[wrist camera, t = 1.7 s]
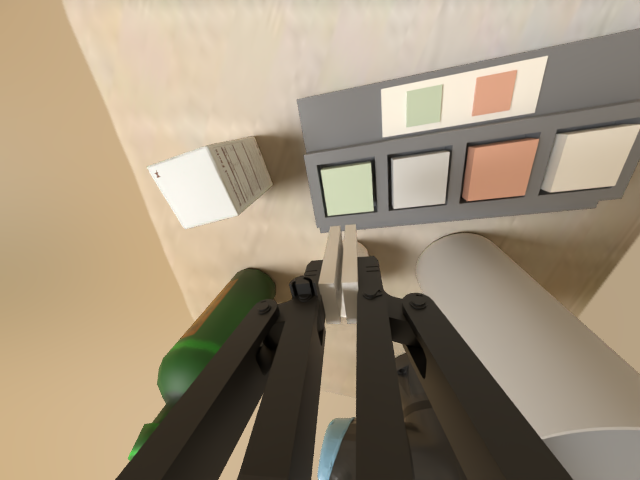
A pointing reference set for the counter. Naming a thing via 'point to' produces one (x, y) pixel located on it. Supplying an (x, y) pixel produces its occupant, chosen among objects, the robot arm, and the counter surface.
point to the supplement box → (212, 181)
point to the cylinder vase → (539, 356)
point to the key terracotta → (498, 169)
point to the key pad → (475, 126)
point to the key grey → (419, 179)
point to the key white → (588, 157)
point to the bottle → (206, 340)
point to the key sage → (348, 188)
